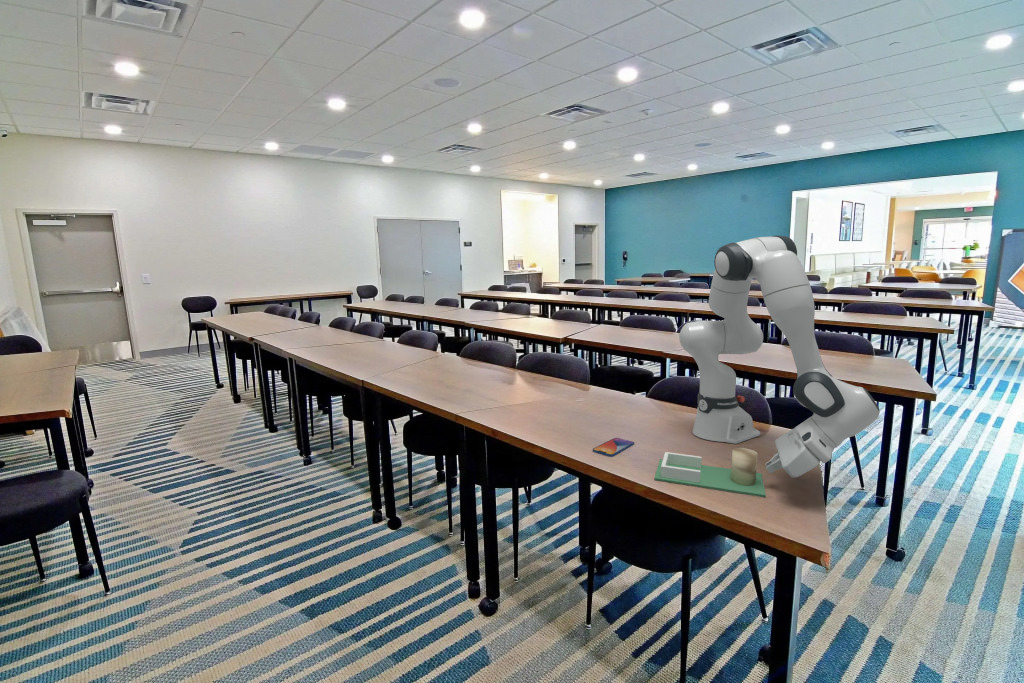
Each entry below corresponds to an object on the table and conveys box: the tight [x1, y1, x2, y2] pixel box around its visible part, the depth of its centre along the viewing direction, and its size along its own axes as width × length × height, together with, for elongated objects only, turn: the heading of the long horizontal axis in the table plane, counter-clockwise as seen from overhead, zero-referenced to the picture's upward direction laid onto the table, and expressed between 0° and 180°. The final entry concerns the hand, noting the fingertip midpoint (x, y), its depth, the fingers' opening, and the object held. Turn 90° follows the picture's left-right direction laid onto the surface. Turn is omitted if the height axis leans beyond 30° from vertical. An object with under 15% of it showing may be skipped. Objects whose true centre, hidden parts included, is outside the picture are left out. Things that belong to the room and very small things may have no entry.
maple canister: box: [730, 447, 759, 486], centre depth 131 cm, size 6×6×8 cm
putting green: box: [653, 451, 767, 498], centre depth 135 cm, size 27×14×4 cm, turn 67°
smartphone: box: [592, 437, 635, 458], centre depth 158 cm, size 7×15×1 cm, turn 138°
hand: (767, 468), depth 129 cm, fingers closed
